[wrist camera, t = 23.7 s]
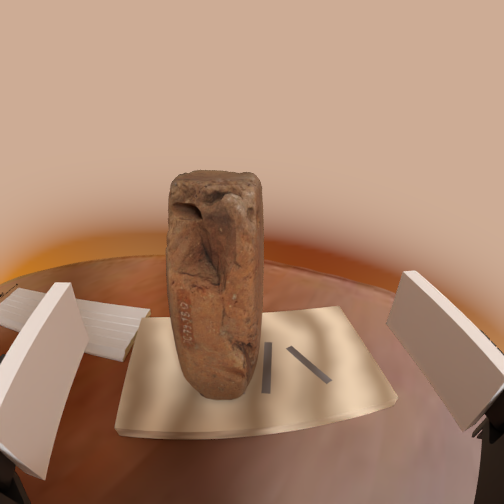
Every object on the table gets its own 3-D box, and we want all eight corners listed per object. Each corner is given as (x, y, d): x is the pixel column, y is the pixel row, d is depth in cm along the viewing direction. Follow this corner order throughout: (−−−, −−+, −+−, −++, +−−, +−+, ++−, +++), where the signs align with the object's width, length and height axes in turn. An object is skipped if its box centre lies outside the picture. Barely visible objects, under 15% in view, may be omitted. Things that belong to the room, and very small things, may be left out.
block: (201, 333, 34) (191, 165, 26) (262, 339, 34) (269, 166, 26) (176, 400, 24) (139, 187, 16) (254, 411, 24) (261, 188, 16)
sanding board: (119, 435, 21) (114, 427, 20) (143, 326, 37) (141, 317, 36) (393, 405, 24) (398, 397, 24) (337, 314, 41) (338, 305, 40)
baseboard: (119, 373, 29) (151, 317, 40) (113, 356, 28) (148, 301, 39) (-16, 326, 31) (20, 294, 42) (-22, 313, 30) (16, 281, 41)
